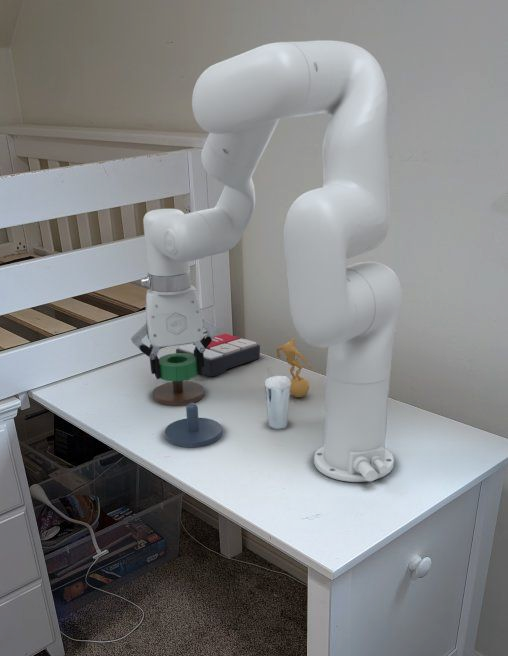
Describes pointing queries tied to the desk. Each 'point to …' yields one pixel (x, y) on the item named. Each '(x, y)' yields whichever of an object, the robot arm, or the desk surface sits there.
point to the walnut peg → (178, 393)
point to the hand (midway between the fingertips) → (178, 373)
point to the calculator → (224, 353)
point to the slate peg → (193, 430)
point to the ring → (178, 367)
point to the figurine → (297, 383)
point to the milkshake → (277, 400)
